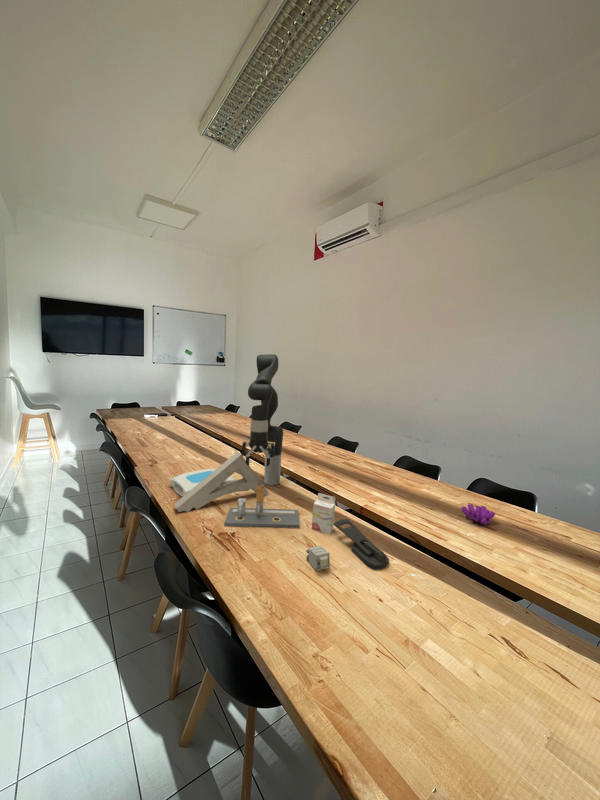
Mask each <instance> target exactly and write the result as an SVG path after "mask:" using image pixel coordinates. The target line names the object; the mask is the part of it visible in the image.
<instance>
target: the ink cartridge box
mask: <svg viewBox="0 0 600 800" xmlns="http://www.w3.org/2000/svg"><path fill="white" fill-rule="evenodd" d="M335 511H336V497H335V496H331V495H328V494H326V493H325V494H324V493H320V492H318V493H317V499H316V500H315V501H314V502H313V507H312V519H311V520H312V521H311V529H312V530H315V531H319V532H322V533H325V534H327V535H328V534H329V535H330V534H331V533H332V532H333V530H334V527H335V525H334V523H335V515H336V514H335Z"/></svg>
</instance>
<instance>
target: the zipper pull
mask: <svg viewBox="0 0 600 800" xmlns="http://www.w3.org/2000/svg"><path fill="white" fill-rule="evenodd" d="M347 524H348V525H350V526H348V527H345V528H343V527H342V526H343V525H347ZM334 527H336V528H337V529H338V530H339V531H341V533H343V534H344V535H345V536H346V537H347V538H349V539H350V540H351V542H353V543H352V545H351V549H350V550H351V553H352V554H354V556H355V557H357V559H358V560H360V561H361V562H362V563H363V564H364V565H365V566H366V567H367V568H368V569H371V570H373V571H381V570H383V569H386V568H387V567H388V566H389V564H390V563H389V561H390V558H389V557H388V556H387V554H385V552H384V551H382V550H381V548H379V547H377V546H376V545H375V544H374V543H373V542H372V541H371V540H370V539H368V537H366V536H365V535H364V533H362V531H360V529H359V528H358V527H357V526H356V525H355V524H354V523H353V522H352V521H351V520H350V519H349V518H344V519H339V520H337V521H334Z"/></svg>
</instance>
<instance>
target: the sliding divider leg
mask: <svg viewBox="0 0 600 800" xmlns="http://www.w3.org/2000/svg"><path fill="white" fill-rule="evenodd" d="M264 487H265V486H264ZM264 487H263V486H257V492H255V494H256V497H255V498H256V499H255V508H256V512H257V518H259V517H260V512H263V509H264Z"/></svg>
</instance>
